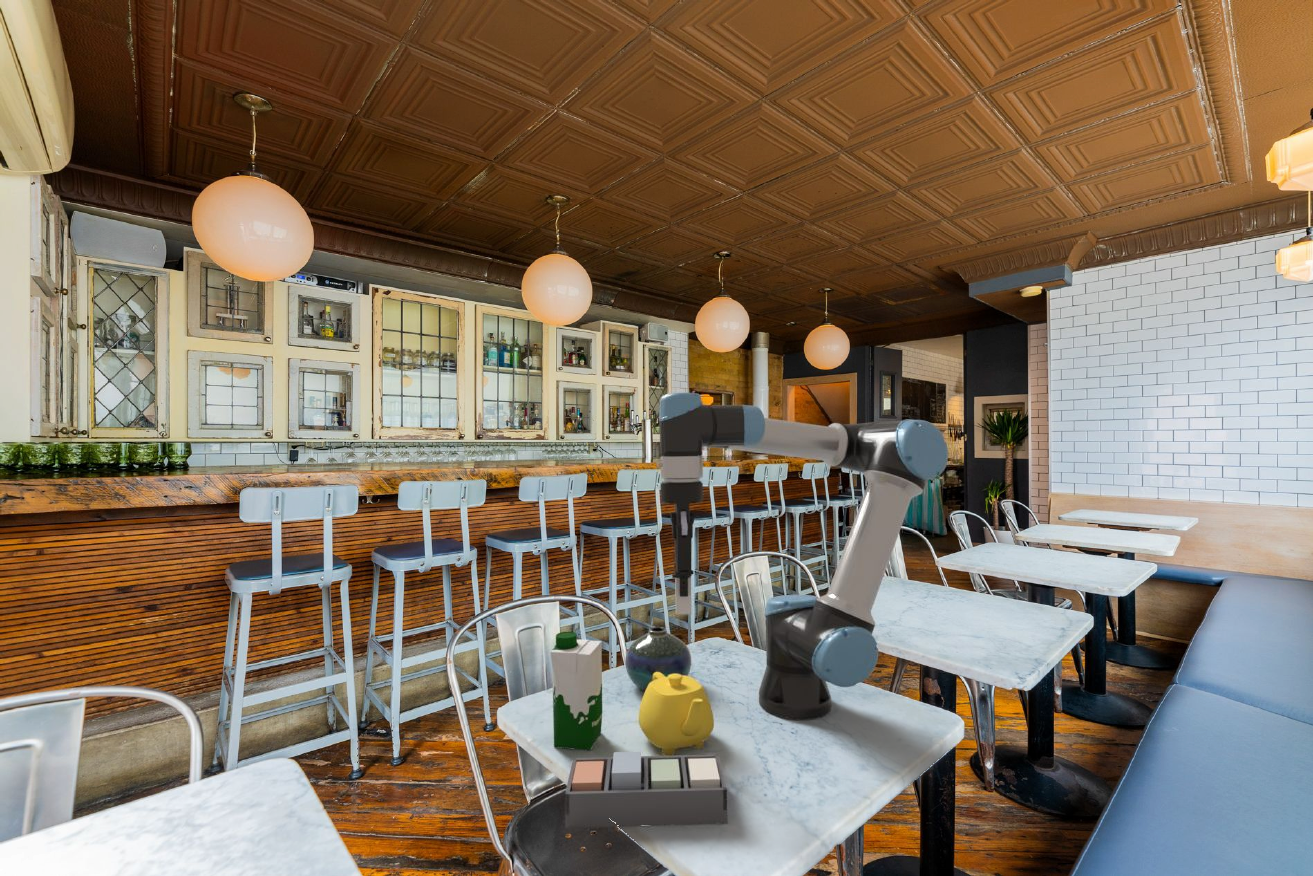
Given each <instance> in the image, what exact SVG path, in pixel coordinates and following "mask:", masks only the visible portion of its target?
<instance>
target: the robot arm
mask: <svg viewBox="0 0 1313 876" xmlns="http://www.w3.org/2000/svg"><path fill="white" fill-rule="evenodd" d="M658 422H659V445H660V447H659V448H660V453H659V454H660V460H661V461H657V462H656V466H657V468H660V479H663V480H664V481H661V483H660V501H661V502H662V503H664V504H670V505H673V504H674V511H673V512H670V521H671V525H672V526H671V534H672V537H673V539H674V540H673V541H674V564H673V566H674V573H671V578H672V579H675V580H674V581H675V582H674V587H675V588H674V589H675V615H676V616H677V615H692V613H693V612H692V575H694V570H692V552H693V551H692V550H693V549H692V547H693V546H692V543H693V542H692V539H693V537H694V536H693V534H694V532H693V531H694V529H693V525H694V523H695V514H694V513H693V511H690V504H699V503H702V502H703V500H704V485H703V482H702V481H701V480H700V479H703V477H704V464H703V463H704V462H703V461H704V460H703V459H704V458H703V456H704V455H703V447H707V448H716V449H726V450H736V451H742V452H751V453H760V454H766V455H776V456H785V457H791V458H793V457H794V458H800V459H809V460H817V461H823V462H824V464H826V465H827V466H829V467H836V468H843V469H846V470H851V471H855V472H858V473H863V476H864V478H865V479H866V481H867V486H866V489H865V491H864V494H863V497H862V500H861V502H860V505H859V508H858V510H857V512H856V516H855V519H854V521H853V524H852V525H851V526H852V527H851V529H850V532H849V533H848V534H849V535H848V537H847V540H846V542H845V545H844V547H843V551H842V553H841V557H839V561H838V564H837V567H836V568H835V569H836V570H835V572H834V575H833V577H832V580H831V582H830V585H829V588H828V590H827V593H826V594H825V595H822V596H817V595H816V596H815V595H810V594H809V595H808V594H787V595H786V594H785V595H778V596H777V595H776V596H773V597H771V598H769V599H768V600H767V601H766V603H765V613H764V617H765V646H766V647H765V649H766V650H765V652H766V653H765V654H766V667H765V671H764V674H763V677H762V679H761V683H760V687H759V690H758V703H759V705H760V707H761V708H762V709H763V710H764V711H766V712H768V713H770V715H773V716H776V717H780V718H782V719H783V718H784V719H789V720H799V721H803V720H806V721H808V720H814V719H819V718H822V717H825V716H826V715H828V714H829V713H830V711H831V710H832V697H831V696H832V695H831V692H830V690H829V686H828V684H827V683H830V684H832V685H833V686H836V687H840V688H850V687H854V686H856V685H857V684H859V683H861V684H862V683H863V682H864V681H865V680H867V678H868V677H870V675H871V674H872V673H873V671H874V669H875V667H876V666H877V662H878V660H879V648H878V646H877V645H878V642H877V640H876V639H875V637H874V635H873V633H874V630H875V626H876V621H875V619H874V617H873V615H872V609H873V607H874V604H875V602H876V601H875V600H876V598H877V595H878V594H879V593H878V592H879V590H880V587H881V585H882V581H883V579H884V577H885V573H886V572H887V571H886V570H887V568H888V564H889V562H890V559H891V557H892V553H893V551H894V548H895V545H896V542H897V540H898V537H899V535H900V531H901V528H902V525H903V523H904V520H905V517H906V515H907V512H908V510H909V507H910V504H911V501H912V499H913V498H915V497H917V496H919V495H922V494H923V493H924V489H925V486H926V483H927V481H928V480H929V481H930V480H932V479H935V478H937V476H940V475H941V474H942V473H943V472H944V471H945V469H946V467H947V464H948V460H949V459H948V458H949V448H948V443H947V442H946V441H945V436H944V434H943V433H942V431H941V430H940V429H939V428H938V427H937V426H936V425H935V424H933V423H931V422H929V421H927V420H922V419H911V418H909V419H908V418H907V419H906V418H905V419H903V420H894V421H893V420H891V421H872V422H864V423H863V422H862V423H848V424H847V423H845V424H844V423H839V422H833V423H831V424H829V425H828V426H826V425H818V424H811V423H805V422H799V421H791V420H783V419H775V418H769V417H765V416H764V413H763V411H762V410H761V408H760V407H758V406H756V405H748V404H747V405H745V404H736V405H735V404H734V405H733V404H721V405H718V404H717V405H716V404H715V405H714V404H713V405H712V404H711V405H710V404H704V403H703V400H702V396H701V394H699V393H697V392H696V393H695V392H694V393H693V392H673V393H671V392H670V393H666V394H664V395H662V396H661V397H660V400H659V414H658Z"/></svg>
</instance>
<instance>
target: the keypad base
mask: <svg viewBox="0 0 1313 876" xmlns="http://www.w3.org/2000/svg"><path fill="white" fill-rule="evenodd" d="M701 758H715V760H716V764H717V768H718V773H719V777H720V788H690V786H689V779H688V759H701ZM662 759H678V762H679V771H680V782H681V789H651V760H662ZM585 761H604V785H603V791H576V792H572V781H573V776H574V772H575V767H576V762H585ZM612 765H613V756H606V757H605V756H604V757H573V758H572V762H571V765H570V770H569V774H568V778H567V779H568V780H567V783H566V787H565V793H564V815H565V816H564V818H565V819H564V820H565V822H564V824H565V829H582V828H583V829H584V828H586V829H588V828H592V829H593V828H620V827H621V828H622V827H642V826H641V825H651V826H650V827H654V826H655V827H657V826H660V827H662V826H690V825H691V826H693V825H722V824H723V825H725V824H728V820H729V819H728V788H727V784H726V780H725V776H724V771H723V767H722V763H721V759H720V755H719V753H718V754H680V755H675V754H674V755H671V756H666V755H641V790H613V791H612ZM609 818H610V819H611V820H612V821H614V822H616V824H615V823H614V822H612V821H611V820H610V819H609ZM617 825H619V826H617Z"/></svg>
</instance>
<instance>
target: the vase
mask: <svg viewBox="0 0 1313 876" xmlns="http://www.w3.org/2000/svg"><path fill="white" fill-rule="evenodd" d="M624 659H625V663H624V664H625V669H626V672H627V675H628V677H629V679H630V680H631V681H632V683H633V684H634V685H635V686H636V687H638V688H639V689H641V690H643V691H646V689H647V687H648V685H649V683H650V682H652V681H653V674H654V673H655V672H660V673H662V674H663V675H664V676H665V677H668V675H670V674H680V675H685V676H689V674H690V672H691V667H692V655H691V651H690V649H689V647H688V645H687V644H686V643H685V642H684V641H683V640H681V639H680V638H678V637H677V636H675V635H673V634H671V633H669V632H668V631H667V628H666V627H662V626H654V627H653V626H652V627H650V628H649V630H648V633H646V634H643V635H642V636H639V638H636V640H635V641H633V642H632V643H631V644H630V645H629V647H628V649H627V651H626V654H625V658H624Z"/></svg>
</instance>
